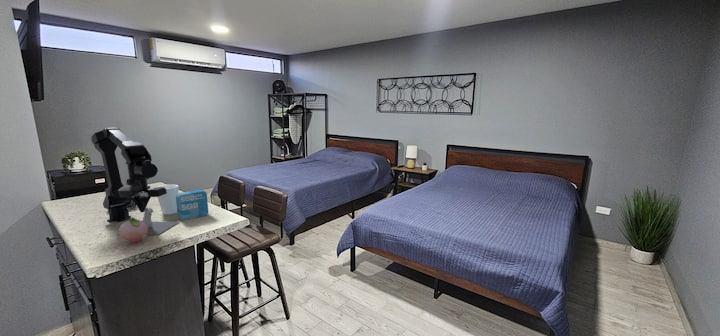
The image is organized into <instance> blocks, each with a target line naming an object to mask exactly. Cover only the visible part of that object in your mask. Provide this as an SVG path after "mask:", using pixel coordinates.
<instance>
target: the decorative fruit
mask: <svg viewBox="0 0 720 336" xmlns="http://www.w3.org/2000/svg"><path fill="white" fill-rule="evenodd" d="M147 232H148V226H147V224H146V223H145V222H143V221H142V220H140V219H137V218H135V217H133V216H131V217H130V218H127V220H126V221H124V222H122V224H121V225H120V226H119V229H118V234H119V235H118V236H120V238H121V239H122V240H124V241H126V242H131V243H138V242H140V241H142V240H143V239H144V238H145V237H146V236H147V235H146V234H147Z"/></svg>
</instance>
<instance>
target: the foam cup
mask: <svg viewBox="0 0 720 336" xmlns="http://www.w3.org/2000/svg"><path fill="white" fill-rule="evenodd" d="M157 187H164V188H165V189H166V192H167V194H164V195H162V196H159V197H157V201H158V203H159V206H160V210H161V213H162V215H166V216H167V215H172V214H177V204H176V195H177V194H178V193H179V190H180V189H179V185H178V184H173V183H172V184H163V185H158V186H157Z"/></svg>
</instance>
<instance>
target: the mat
mask: <svg viewBox="0 0 720 336" xmlns="http://www.w3.org/2000/svg"><path fill="white" fill-rule="evenodd" d="M178 224H180V221H152V226H151V227H150V228H148V232H147V234H146V236H160V235H161V234H163V233H165V232H166V231H168V230H169V229H172V228H173V227H175V226H176V225H178ZM117 236H120V235H119V233H118V234H117Z"/></svg>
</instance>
